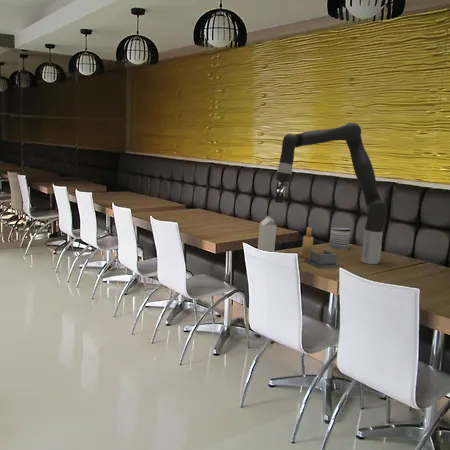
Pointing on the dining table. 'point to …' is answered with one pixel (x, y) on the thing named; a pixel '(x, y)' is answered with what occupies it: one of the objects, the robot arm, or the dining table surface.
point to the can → (339, 238)
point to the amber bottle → (307, 244)
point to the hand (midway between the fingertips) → (278, 202)
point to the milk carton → (267, 235)
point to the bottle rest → (323, 259)
